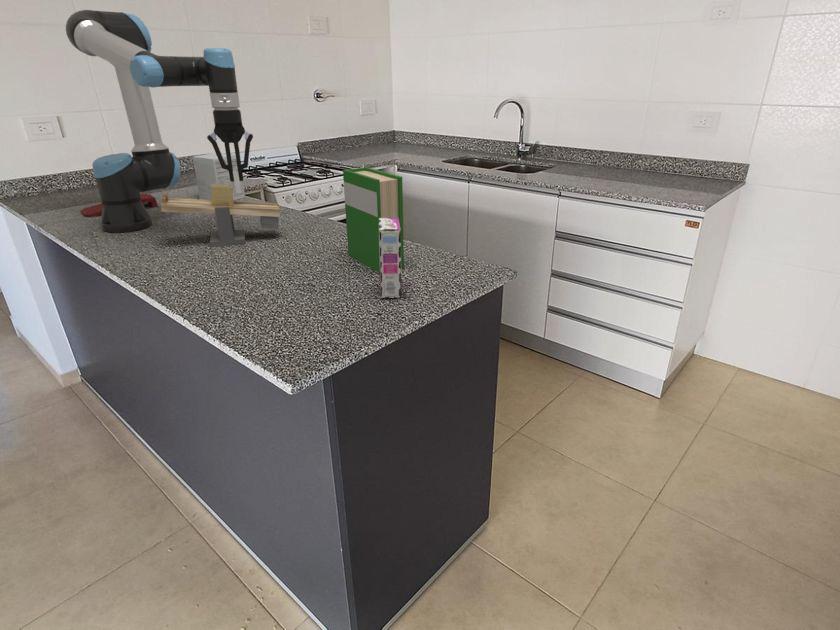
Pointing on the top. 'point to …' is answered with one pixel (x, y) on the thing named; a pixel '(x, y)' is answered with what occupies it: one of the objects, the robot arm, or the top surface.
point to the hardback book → (370, 211)
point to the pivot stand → (226, 230)
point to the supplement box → (214, 175)
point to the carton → (97, 209)
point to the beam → (264, 210)
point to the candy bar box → (390, 257)
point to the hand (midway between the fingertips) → (238, 192)
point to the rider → (222, 195)
